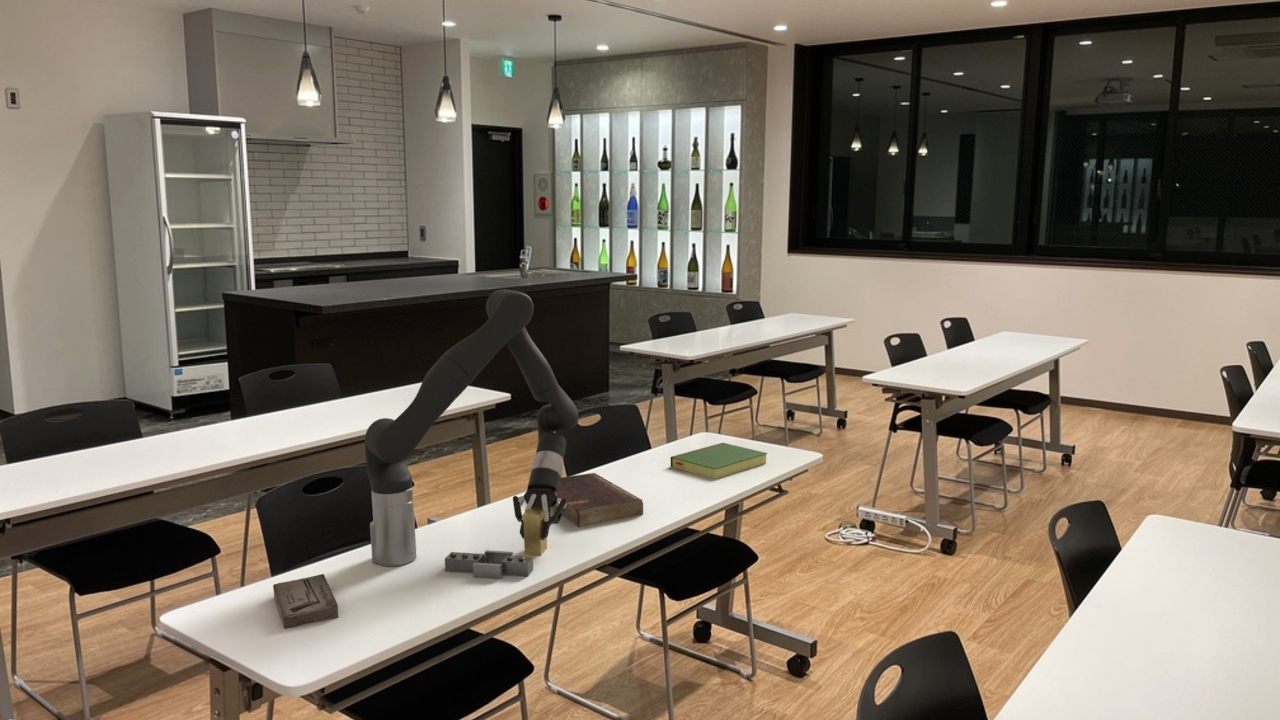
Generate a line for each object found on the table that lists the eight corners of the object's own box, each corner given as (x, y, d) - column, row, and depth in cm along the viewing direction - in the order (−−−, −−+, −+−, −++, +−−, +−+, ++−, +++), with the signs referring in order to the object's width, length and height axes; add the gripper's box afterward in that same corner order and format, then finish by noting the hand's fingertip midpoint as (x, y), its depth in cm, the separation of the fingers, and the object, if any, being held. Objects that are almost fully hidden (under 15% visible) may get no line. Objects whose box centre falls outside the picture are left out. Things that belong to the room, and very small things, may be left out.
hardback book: (643, 516, 248) (643, 498, 248) (578, 528, 240) (578, 510, 239) (595, 487, 274) (595, 471, 273) (535, 498, 265) (535, 481, 264)
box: (325, 586, 204) (323, 572, 203) (339, 618, 189) (338, 604, 188) (272, 597, 199) (271, 583, 199) (283, 631, 184) (282, 616, 184)
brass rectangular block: (524, 554, 221) (523, 513, 220) (531, 546, 226) (529, 507, 224) (541, 555, 221) (539, 514, 219) (547, 547, 225) (545, 507, 224)
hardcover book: (722, 453, 309) (722, 442, 308) (767, 464, 295) (767, 453, 294) (668, 468, 292) (668, 457, 291) (713, 481, 278) (713, 469, 278)
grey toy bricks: (441, 574, 210) (440, 560, 209) (455, 560, 218) (455, 546, 217) (524, 580, 206) (524, 565, 206) (536, 565, 214) (535, 551, 214)
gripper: (514, 465, 229) (499, 529, 219) (570, 467, 226) (558, 532, 216) (522, 479, 235) (508, 543, 225) (577, 482, 232) (565, 546, 222)
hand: (533, 537), depth 221 cm, fingers closed on brass rectangular block, 4 cm apart
